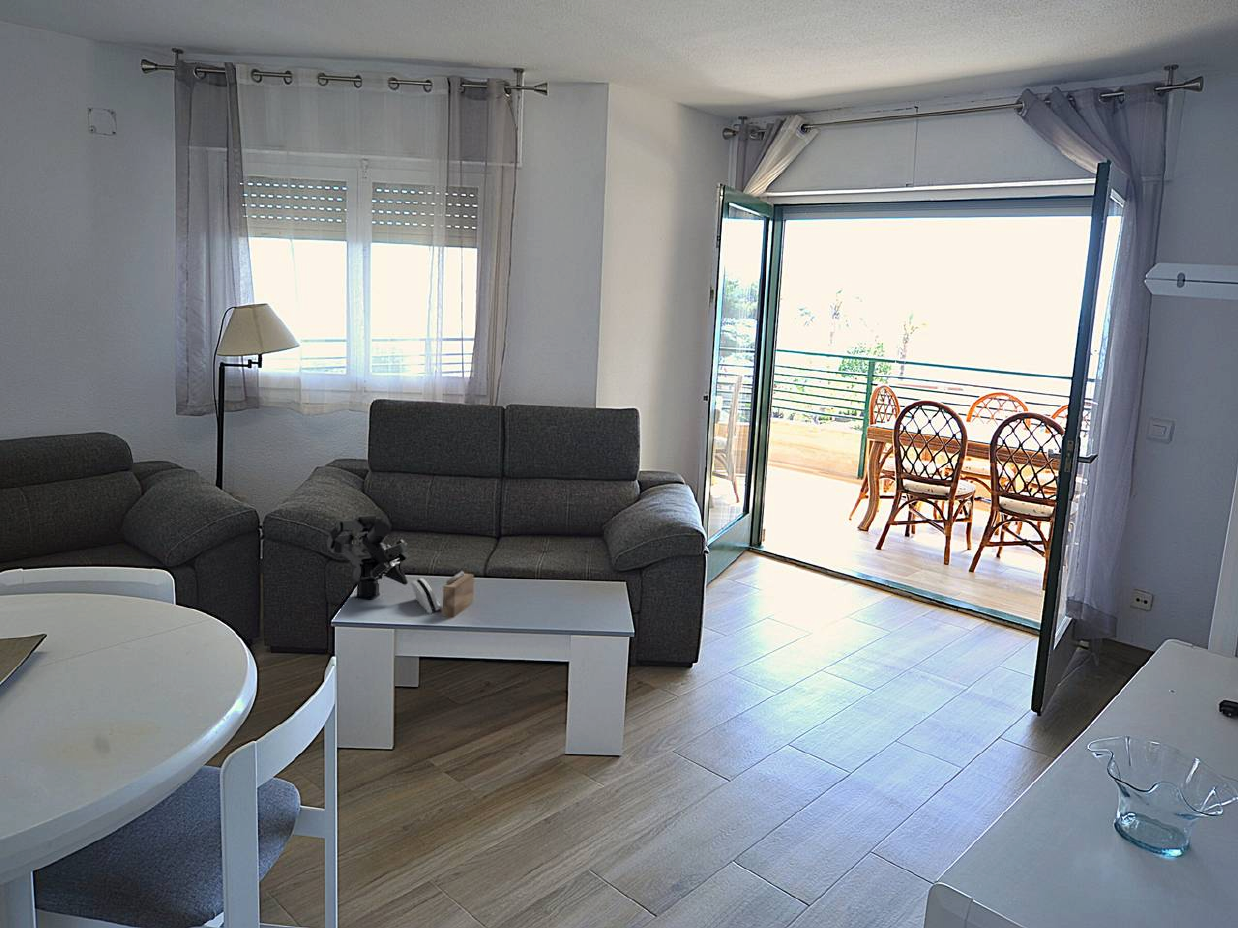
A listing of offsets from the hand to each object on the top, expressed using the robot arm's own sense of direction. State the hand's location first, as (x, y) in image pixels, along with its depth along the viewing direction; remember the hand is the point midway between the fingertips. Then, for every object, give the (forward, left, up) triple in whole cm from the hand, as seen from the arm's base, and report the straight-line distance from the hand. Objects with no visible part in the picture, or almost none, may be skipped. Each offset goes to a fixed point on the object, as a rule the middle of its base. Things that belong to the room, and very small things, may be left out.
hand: (406, 583), depth 315 cm
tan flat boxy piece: (+19, 0, -7) cm, 20 cm away
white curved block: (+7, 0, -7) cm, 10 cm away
